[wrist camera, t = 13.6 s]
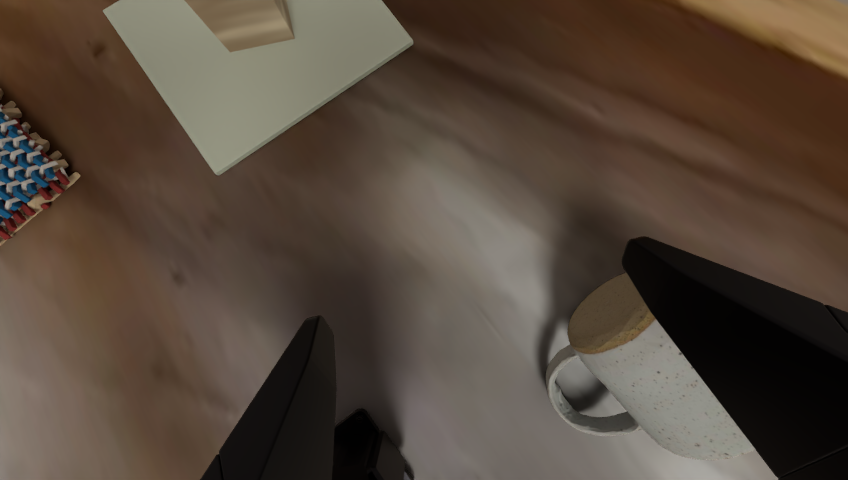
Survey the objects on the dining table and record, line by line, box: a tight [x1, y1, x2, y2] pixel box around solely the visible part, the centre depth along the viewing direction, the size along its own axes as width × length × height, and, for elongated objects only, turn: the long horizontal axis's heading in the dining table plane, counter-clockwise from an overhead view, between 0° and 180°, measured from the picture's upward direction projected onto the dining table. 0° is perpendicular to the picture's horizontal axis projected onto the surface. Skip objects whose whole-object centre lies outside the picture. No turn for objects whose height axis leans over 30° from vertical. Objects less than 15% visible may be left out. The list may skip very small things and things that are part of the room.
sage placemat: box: [103, 0, 413, 176], centre depth 24 cm, size 18×16×1 cm
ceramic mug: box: [546, 273, 755, 460], centre depth 18 cm, size 11×8×8 cm
